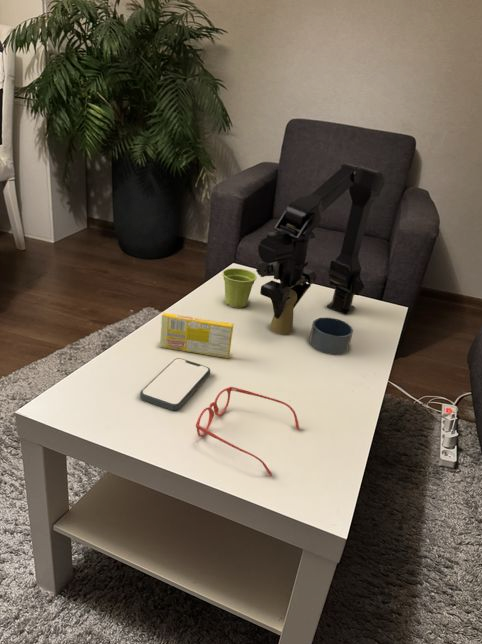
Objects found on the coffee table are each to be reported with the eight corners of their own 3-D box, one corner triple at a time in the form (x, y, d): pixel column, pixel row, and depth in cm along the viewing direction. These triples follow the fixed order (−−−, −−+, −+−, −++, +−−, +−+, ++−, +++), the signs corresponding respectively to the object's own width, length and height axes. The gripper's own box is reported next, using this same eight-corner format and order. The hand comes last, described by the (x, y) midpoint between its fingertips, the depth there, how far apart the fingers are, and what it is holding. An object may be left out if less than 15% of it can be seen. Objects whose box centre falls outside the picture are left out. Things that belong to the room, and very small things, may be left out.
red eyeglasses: (227, 399, 109) (230, 379, 107) (301, 426, 105) (306, 405, 103) (185, 447, 95) (187, 425, 93) (269, 480, 91) (273, 458, 88)
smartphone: (177, 413, 104) (212, 374, 117) (177, 407, 103) (212, 367, 116) (137, 399, 106) (175, 362, 119) (137, 393, 105) (176, 356, 118)
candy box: (230, 354, 125) (234, 323, 121) (228, 359, 123) (232, 327, 119) (161, 343, 125) (163, 311, 121) (159, 347, 124) (161, 315, 120)
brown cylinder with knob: (296, 328, 142) (303, 290, 136) (287, 337, 137) (294, 297, 132) (275, 321, 144) (281, 283, 138) (266, 329, 139) (272, 290, 133)
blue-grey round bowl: (319, 330, 143) (323, 313, 140) (354, 344, 139) (359, 327, 136) (302, 344, 135) (305, 326, 132) (338, 359, 131) (343, 341, 128)
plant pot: (218, 294, 153) (221, 266, 149) (251, 297, 155) (255, 269, 151) (219, 309, 145) (223, 279, 141) (254, 312, 147) (258, 282, 143)
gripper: (284, 239, 141) (275, 293, 148) (245, 255, 126) (238, 314, 134) (322, 251, 136) (310, 306, 144) (286, 269, 122) (276, 329, 130)
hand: (284, 313), depth 138 cm, fingers open, 7 cm apart
